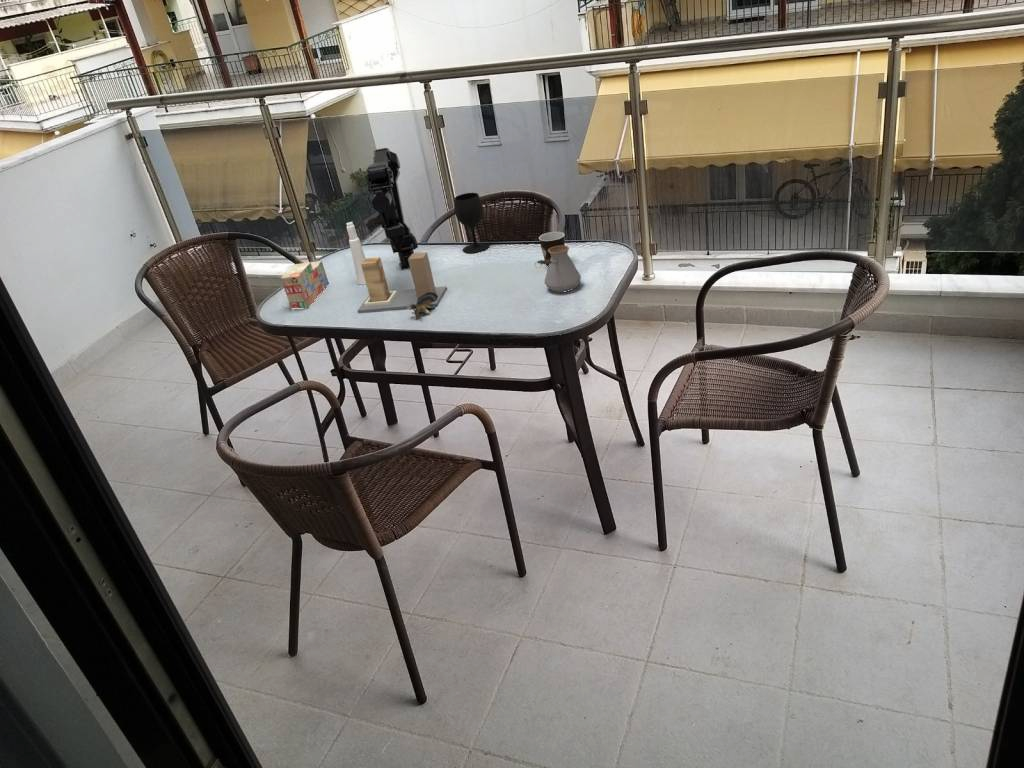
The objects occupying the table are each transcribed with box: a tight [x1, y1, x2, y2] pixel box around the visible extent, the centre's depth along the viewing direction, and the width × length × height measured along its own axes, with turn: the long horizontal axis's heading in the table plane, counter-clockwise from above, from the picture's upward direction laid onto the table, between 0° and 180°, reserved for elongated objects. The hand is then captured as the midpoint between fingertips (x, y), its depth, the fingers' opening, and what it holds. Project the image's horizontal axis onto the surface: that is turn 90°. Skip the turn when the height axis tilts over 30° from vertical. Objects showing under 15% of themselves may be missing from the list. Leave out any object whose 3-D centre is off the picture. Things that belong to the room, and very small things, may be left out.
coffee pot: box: [534, 245, 582, 293], centre depth 233 cm, size 21×12×15 cm, turn 154°
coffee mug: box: [538, 231, 566, 267], centre depth 258 cm, size 12×9×10 cm
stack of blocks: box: [280, 260, 330, 309], centre depth 267 cm, size 21×6×12 cm, turn 172°
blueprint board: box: [356, 251, 448, 314], centre depth 249 cm, size 14×27×15 cm, turn 81°
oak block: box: [361, 256, 390, 302], centre depth 250 cm, size 5×5×14 cm
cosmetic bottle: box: [346, 221, 367, 286], centre depth 269 cm, size 6×6×22 cm
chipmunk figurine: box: [407, 292, 438, 320], centre depth 239 cm, size 8×7×9 cm
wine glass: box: [453, 192, 491, 255], centre depth 281 cm, size 10×10×20 cm
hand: (397, 248), depth 259 cm, fingers open, 9 cm apart
